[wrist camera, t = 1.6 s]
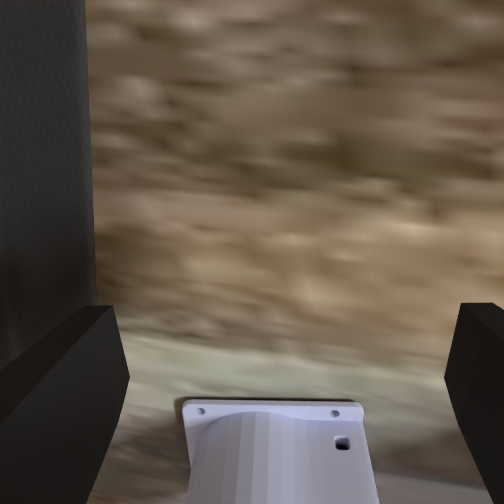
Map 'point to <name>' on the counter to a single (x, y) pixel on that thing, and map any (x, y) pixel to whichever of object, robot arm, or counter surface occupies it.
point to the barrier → (44, 171)
